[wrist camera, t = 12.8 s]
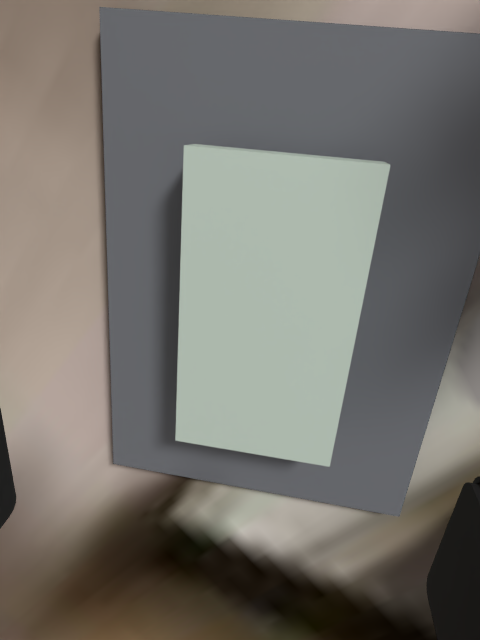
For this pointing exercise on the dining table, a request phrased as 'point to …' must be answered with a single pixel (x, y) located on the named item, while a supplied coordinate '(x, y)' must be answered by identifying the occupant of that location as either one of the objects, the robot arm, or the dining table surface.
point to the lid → (271, 296)
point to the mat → (302, 138)
